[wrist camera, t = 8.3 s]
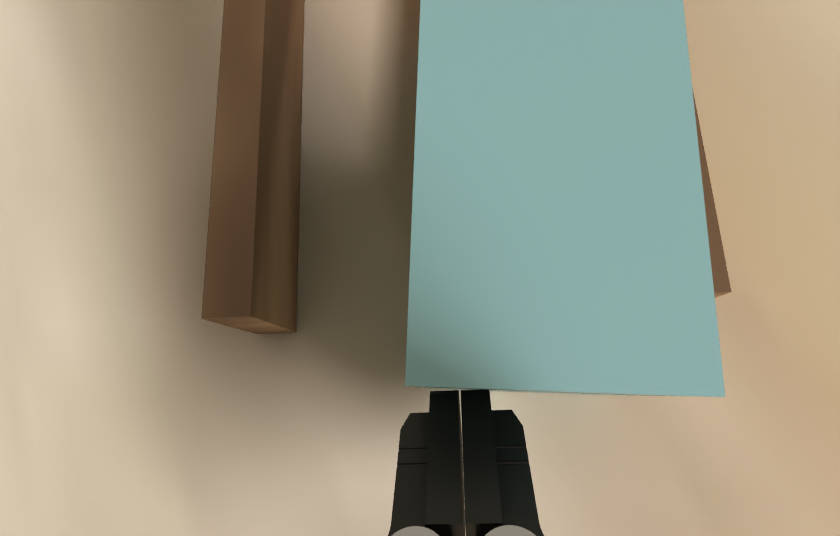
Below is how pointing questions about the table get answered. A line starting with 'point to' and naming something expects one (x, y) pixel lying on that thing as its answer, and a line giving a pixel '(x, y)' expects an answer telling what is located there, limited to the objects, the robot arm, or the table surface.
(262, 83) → the brown u-shaped block
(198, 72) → the table surface
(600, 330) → the block
